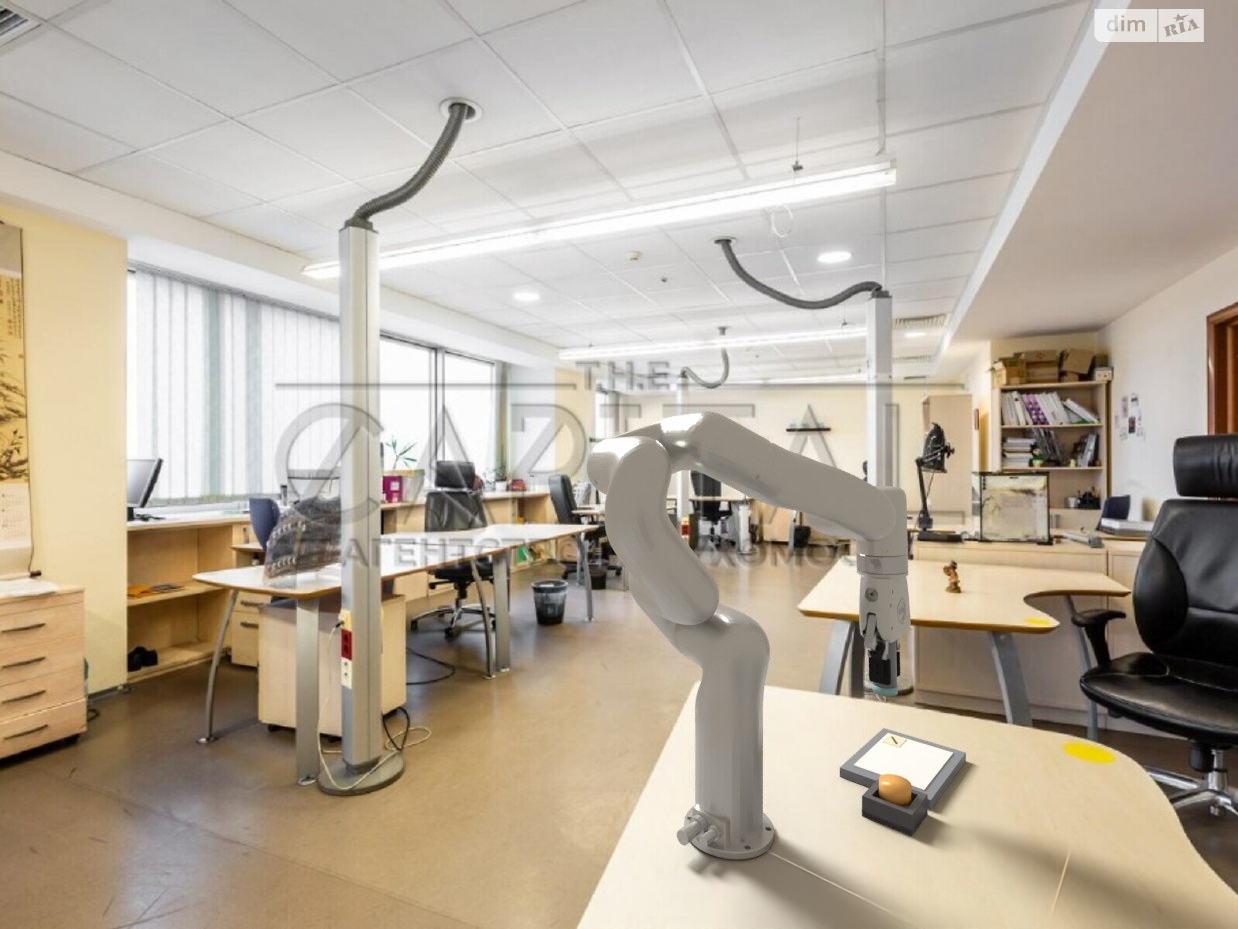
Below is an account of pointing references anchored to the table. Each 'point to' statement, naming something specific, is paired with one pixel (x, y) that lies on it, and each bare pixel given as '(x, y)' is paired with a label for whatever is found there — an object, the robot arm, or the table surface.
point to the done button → (895, 789)
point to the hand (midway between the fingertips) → (884, 677)
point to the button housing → (895, 810)
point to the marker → (893, 687)
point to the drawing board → (905, 763)
